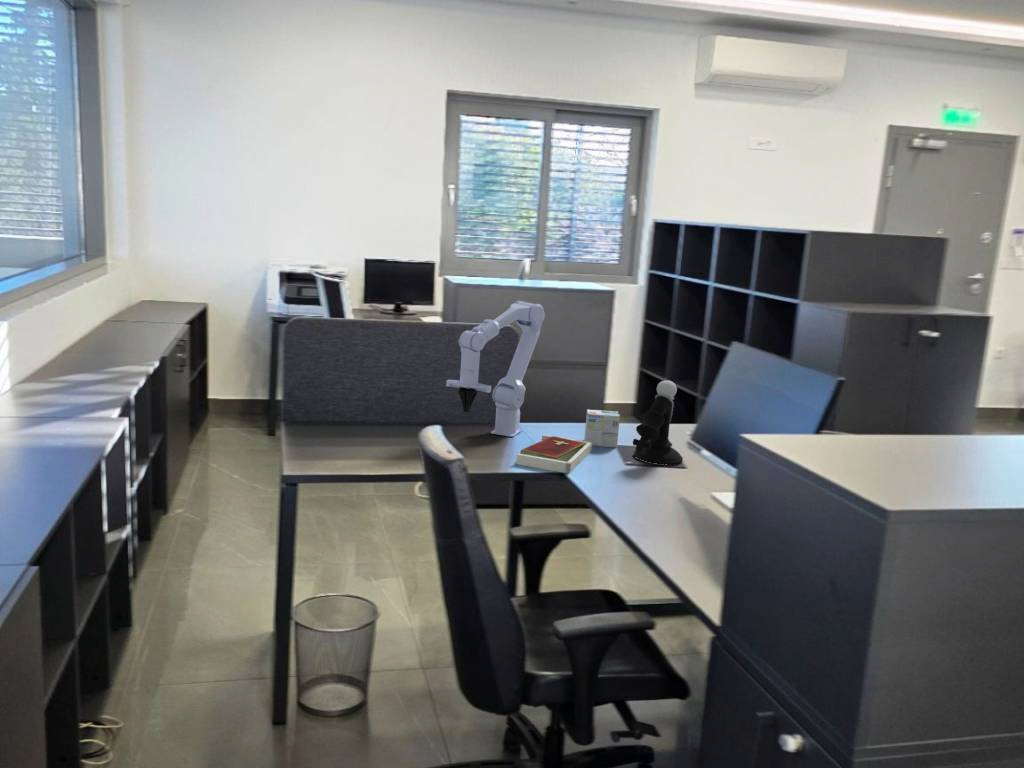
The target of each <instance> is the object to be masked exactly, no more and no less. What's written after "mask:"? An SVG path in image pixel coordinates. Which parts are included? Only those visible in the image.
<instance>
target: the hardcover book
mask: <svg viewBox="0 0 1024 768" xmlns="http://www.w3.org/2000/svg"><path fill="white" fill-rule="evenodd" d="M550 436H551V437H549V438H547V439H545V440H542V439H541V440H540V441H538V442H535V443H533V444H531V445H529V446H527V447H524V448H522V449H521V450H520V453H519V454H524V455H530V456H536V457H542V458H547V459H553V460H559V461H565V462H568V461H569V460H570V459H571V458H572V457H573V456H574V455H575V454H576V453H577V452H578V451H579V450H580V449H582V448H583V447H584V445H585V444H586V443H584V442H579V441H574V440H575V439H574V440H570V439H571V438H568V439H565V438H566V437H562V438H560V437H561V436H555V435H550Z"/></svg>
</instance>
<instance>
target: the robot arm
mask: <svg viewBox="0 0 1024 768" xmlns="http://www.w3.org/2000/svg"><path fill="white" fill-rule="evenodd" d="M545 318H546V313H545V310H544V307H543V305H541V304H539V303H532V302H526V301H522V300H517V301H515V302H514V303H512V304H510V307H509V308H508V309H507V310H505V311H504V312H502V313H501V314H500V315H498V317H496V318H495V319H490V318H489V319H487V318H485V319H483V322H482V323H480V324H478V325H477V326H474V327H473V328H472V329H471V330H465V331H463V332H462V333H461V334H460V336H459V339H458V340H457V341H458V342H457V343H458V345H459V347H460V353H461V356H460V357H461V359H460V371H459V372H460V374H459V380H458V379H447V380H446V381H445V382H446V383H445V384H446V385H445V386H446V387H450V388H458V391H457V393H458V395H459V397H460V401H461V403H462V409H463V412H464V413H469V412H471V409H472V405H473V403H474V400H475V398H476V397H477V394H479V393H478V392H484V393H488V394H489V393H491V392H492V395H491V397H492V400H493V402H494V404H495V406H496V409H495V421H494V422H495V424H494V429H493V430H491V431H490V434H493V435H499V436H503V437H504V436H505V437H510V438H514V437H515V436H516V435H518V434H519V433H521V432H522V431H523V430H522V429H520V420H521V410H520V409H521V406H523V403H524V401H525V393H526V390H527V389H526V386H525V385H524V384H523V379H524V377H525V374H526V372H527V369H528V366H529V364H530V361H531V358H532V355H533V353H534V351H535V347H536V345H537V343H538V340H539V337H540V334H541V328H542V325H543V322H544V319H545ZM514 322H516V324H517V325H518V326H519V328H520V329H521V331H522V334H521V336H520V338H519V342H518V344H517V346H516V349H515V352H514V355H513V358H512V360H511V363H510V365H509V368H508V371H507V374H506V376H504V377H502V378H500V379H499V381H498V382H497V385H496V386H495V387H494V388H493V390H492V385H488V384H484V383H481V382H479V372H480V371H479V370H480V358H481V351H483V349H484V347H485V345H486V344H487V343H488V342H489V341H491V340H492V339H494V338H495V337H496V336H498V335H499V333H500V330H501V329H503V328H505V327H507V326H509V325H510V324H512V323H514Z"/></svg>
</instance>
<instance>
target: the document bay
mask: <svg viewBox="0 0 1024 768" xmlns="http://www.w3.org/2000/svg"><path fill="white" fill-rule="evenodd" d="M541 436H542V437H541V441H542V440H545V439H547V438H549V437H551V436H552V435H549V434H542V435H541ZM559 437H560V438H563V437H561V436H559ZM564 438H565V439H570V440H574V441H579V442H584V443H586V444H585V445H584V447H583V448H582V449H580V450H579V451H578V452H577V453H576V454H575V455H574V456H573V457H572V458H571V459H570V460H569V461H568V462H565V461H559V460H553V459H547V458H542V457H536V456H530V455H524V454H520V453H517V454H516V461H515V462H516V463H515V464H516V465H518V466H524V467H530V468H536V469H541V470H547V471H552V472H559V473H564V474H571V472H572V471H574V469H576V467H578V466H579V464H581V463H582V461H584V459H585V458H587V457H588V456H589V455H590V454H591V453H592V450H593V449H592V448H593V446H592V442H586V441H584V440H579V439H575V438H574V439H573V438H568V437H564Z"/></svg>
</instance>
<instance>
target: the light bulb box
mask: <svg viewBox="0 0 1024 768" xmlns="http://www.w3.org/2000/svg"><path fill="white" fill-rule="evenodd" d="M585 415H586V417H585V429H584V440H583V441H586V442H592V447H594V446H595V447H605V448H606V447H607V448H618V439H619V429H620V420H621V419H620V417H621V415H620V413H619V411H612V410H601V409H600V410H599V409H586V414H585Z"/></svg>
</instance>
